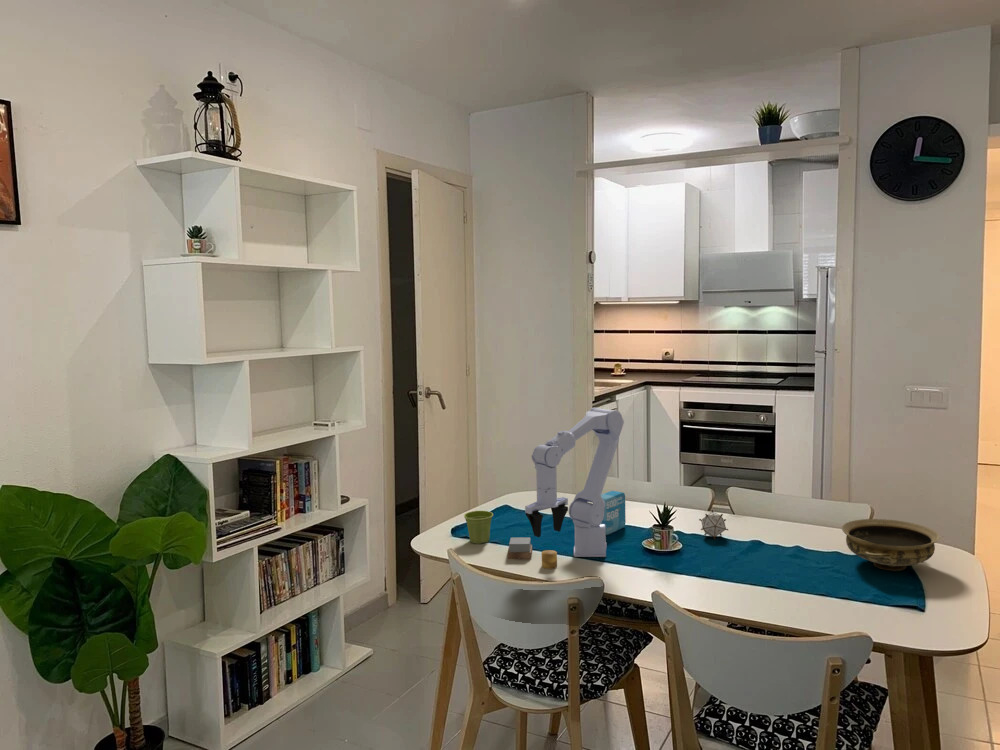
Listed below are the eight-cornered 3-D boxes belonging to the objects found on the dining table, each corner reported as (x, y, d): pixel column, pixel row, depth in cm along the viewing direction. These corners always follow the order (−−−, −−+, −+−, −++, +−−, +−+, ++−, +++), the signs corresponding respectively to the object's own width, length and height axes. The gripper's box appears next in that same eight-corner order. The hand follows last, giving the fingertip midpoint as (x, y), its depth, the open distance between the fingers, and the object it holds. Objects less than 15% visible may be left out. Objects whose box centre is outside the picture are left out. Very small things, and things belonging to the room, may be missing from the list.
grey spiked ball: (720, 548, 239) (739, 527, 234) (699, 543, 235) (717, 521, 231) (709, 527, 246) (727, 506, 241) (688, 522, 243) (706, 500, 238)
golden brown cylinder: (557, 563, 220) (557, 550, 219) (557, 568, 215) (556, 555, 215) (542, 563, 220) (541, 550, 220) (541, 568, 216) (541, 555, 215)
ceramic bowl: (860, 542, 229) (861, 510, 228) (950, 559, 213) (951, 525, 212) (824, 571, 207) (825, 536, 206) (922, 593, 191) (923, 554, 190)
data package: (605, 536, 243) (604, 499, 241) (593, 533, 246) (593, 497, 244) (625, 526, 252) (625, 491, 250) (614, 524, 255) (613, 489, 253)
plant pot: (461, 545, 238) (460, 518, 237) (469, 535, 248) (468, 509, 247) (489, 546, 236) (489, 519, 235) (497, 537, 245) (496, 510, 244)
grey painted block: (530, 545, 230) (530, 537, 230) (529, 552, 224) (529, 543, 224) (511, 545, 231) (510, 537, 230) (509, 552, 225) (509, 544, 224)
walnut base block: (532, 552, 231) (532, 544, 230) (531, 560, 224) (531, 552, 224) (509, 552, 231) (509, 545, 231) (507, 560, 224) (507, 552, 224)
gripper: (536, 494, 208) (537, 542, 209) (574, 485, 217) (575, 531, 218) (520, 489, 213) (520, 536, 215) (558, 480, 222) (559, 526, 224)
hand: (547, 533), depth 217 cm, fingers open, 7 cm apart
